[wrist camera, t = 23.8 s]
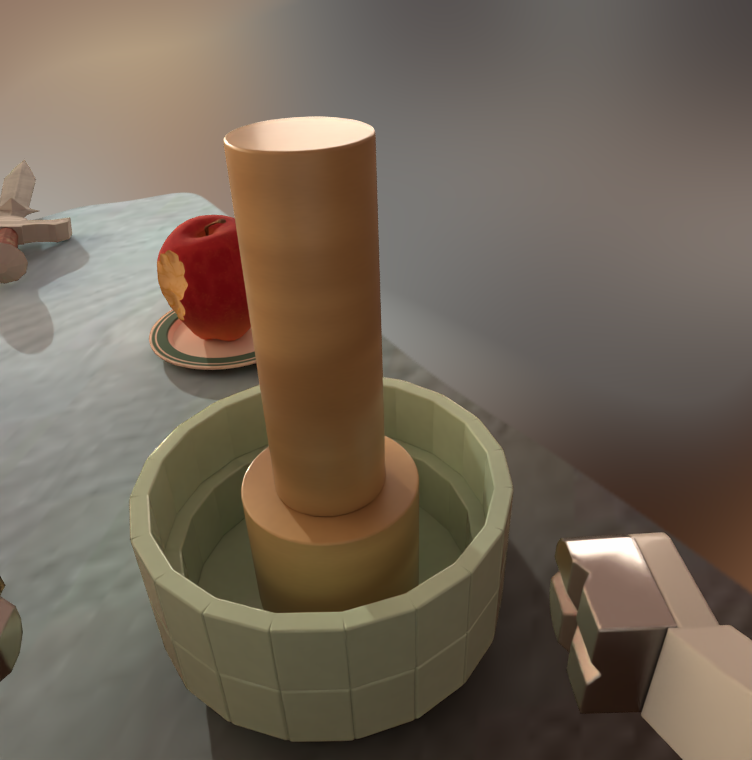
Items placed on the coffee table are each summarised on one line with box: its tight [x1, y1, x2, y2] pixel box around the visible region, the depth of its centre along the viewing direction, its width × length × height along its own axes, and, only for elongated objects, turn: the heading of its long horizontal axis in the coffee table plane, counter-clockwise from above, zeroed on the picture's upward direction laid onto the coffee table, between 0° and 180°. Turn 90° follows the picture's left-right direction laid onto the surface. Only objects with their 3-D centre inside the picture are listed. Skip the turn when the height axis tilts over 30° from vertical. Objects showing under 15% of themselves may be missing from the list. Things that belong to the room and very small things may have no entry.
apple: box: [149, 215, 256, 370], centre depth 33 cm, size 8×8×6 cm
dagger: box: [0, 160, 72, 284], centre depth 52 cm, size 8×3×30 cm
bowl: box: [129, 377, 513, 742], centre depth 20 cm, size 10×10×5 cm
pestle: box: [224, 117, 419, 613], centre depth 17 cm, size 5×5×13 cm
